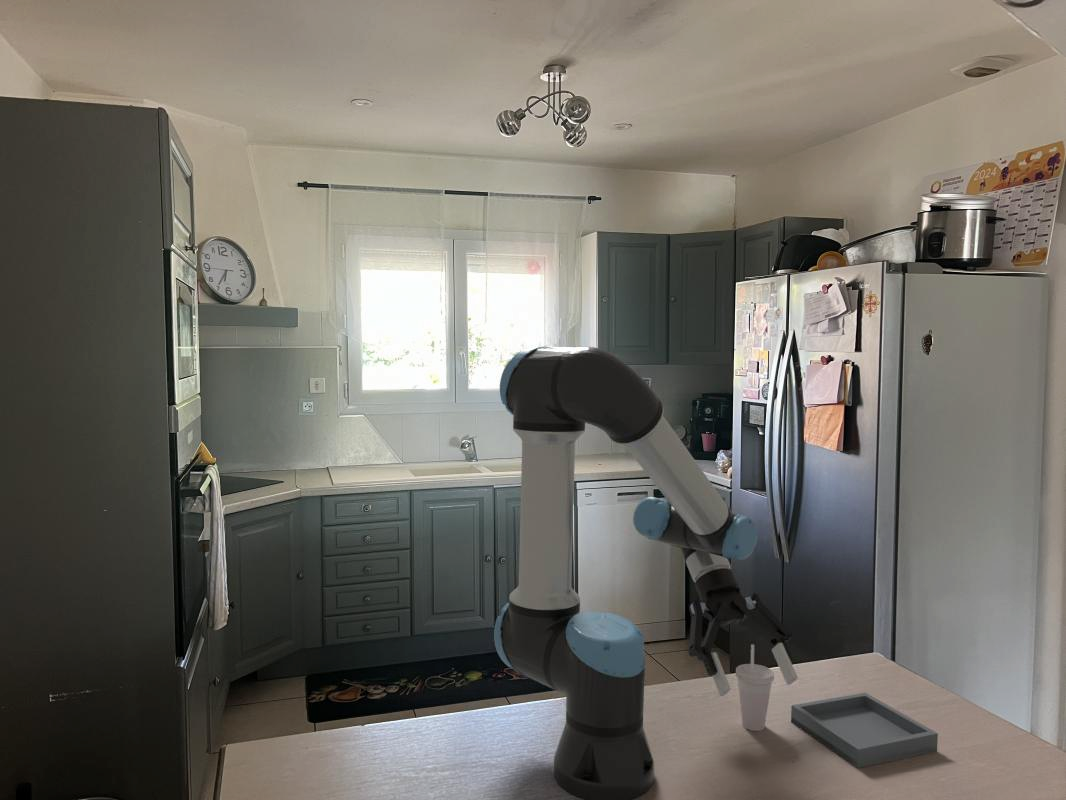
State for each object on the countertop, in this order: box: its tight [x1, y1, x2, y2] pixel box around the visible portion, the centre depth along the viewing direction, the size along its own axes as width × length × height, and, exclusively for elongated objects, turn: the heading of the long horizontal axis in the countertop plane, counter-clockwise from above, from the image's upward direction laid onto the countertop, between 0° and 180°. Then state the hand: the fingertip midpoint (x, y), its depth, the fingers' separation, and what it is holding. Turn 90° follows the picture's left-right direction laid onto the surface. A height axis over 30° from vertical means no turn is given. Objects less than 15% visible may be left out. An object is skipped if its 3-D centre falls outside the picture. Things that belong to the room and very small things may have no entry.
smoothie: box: [735, 644, 775, 732], centre depth 135 cm, size 6×6×14 cm
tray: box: [790, 692, 939, 769], centre depth 132 cm, size 16×16×3 cm
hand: (759, 687), depth 135 cm, fingers open, 13 cm apart
